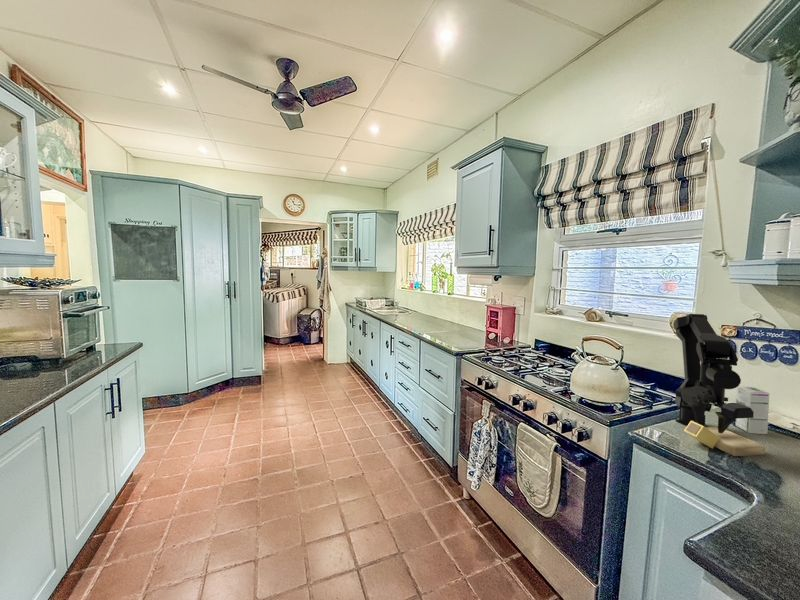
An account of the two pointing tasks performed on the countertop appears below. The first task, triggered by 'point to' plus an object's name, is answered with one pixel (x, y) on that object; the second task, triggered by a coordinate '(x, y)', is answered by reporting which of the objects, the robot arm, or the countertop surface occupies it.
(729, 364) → the robot arm
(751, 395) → the syrup box
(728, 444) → the cutting board
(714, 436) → the mustard block
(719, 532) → the countertop surface
